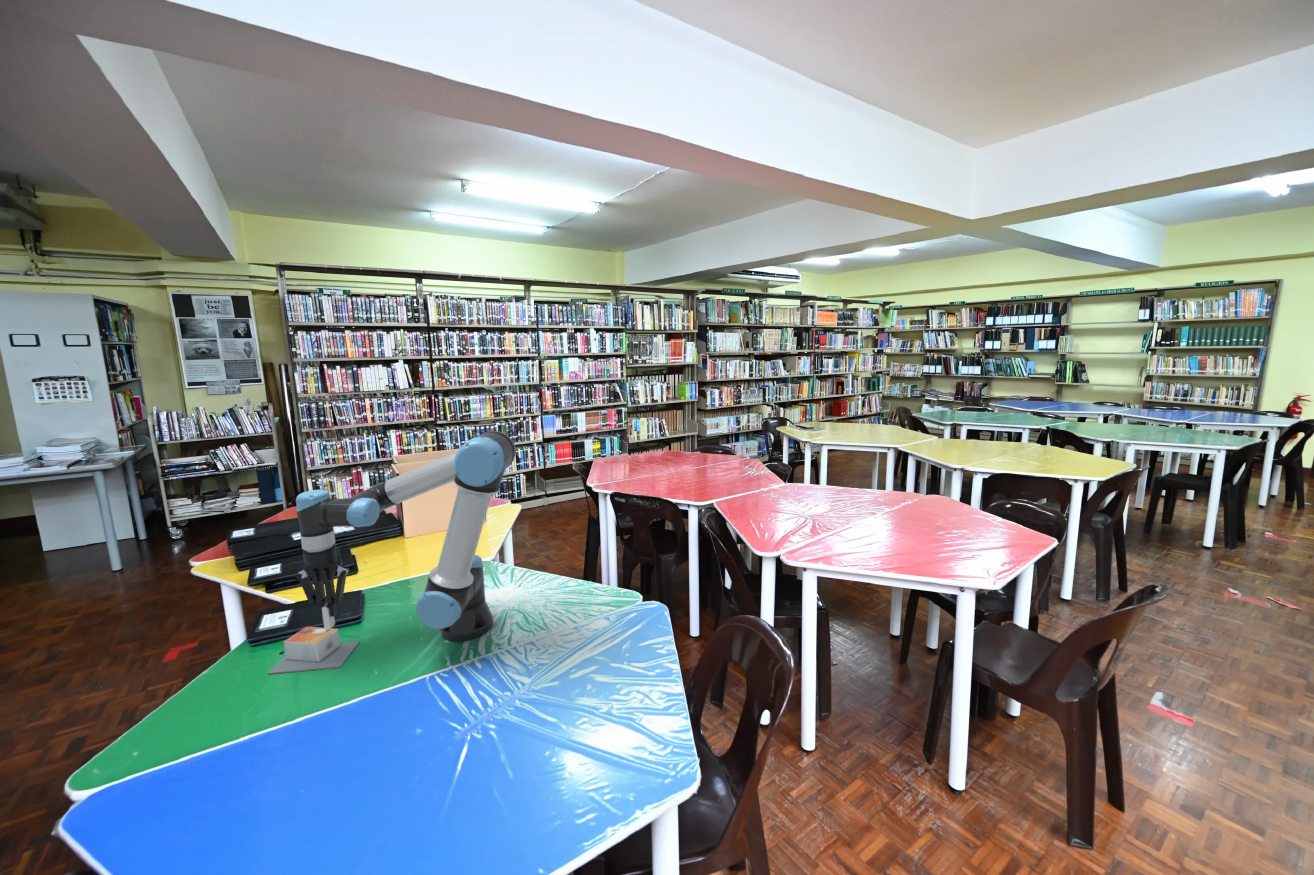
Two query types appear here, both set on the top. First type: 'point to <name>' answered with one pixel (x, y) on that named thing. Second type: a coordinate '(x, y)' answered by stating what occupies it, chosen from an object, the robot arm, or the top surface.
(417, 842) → the top surface
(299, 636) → the small box
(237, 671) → the top surface
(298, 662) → the mat
